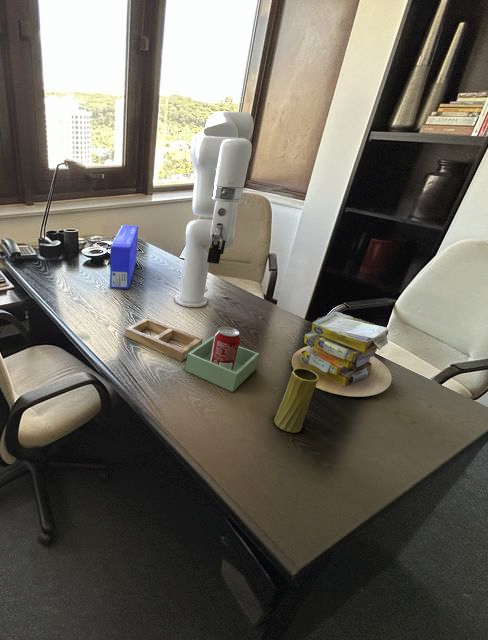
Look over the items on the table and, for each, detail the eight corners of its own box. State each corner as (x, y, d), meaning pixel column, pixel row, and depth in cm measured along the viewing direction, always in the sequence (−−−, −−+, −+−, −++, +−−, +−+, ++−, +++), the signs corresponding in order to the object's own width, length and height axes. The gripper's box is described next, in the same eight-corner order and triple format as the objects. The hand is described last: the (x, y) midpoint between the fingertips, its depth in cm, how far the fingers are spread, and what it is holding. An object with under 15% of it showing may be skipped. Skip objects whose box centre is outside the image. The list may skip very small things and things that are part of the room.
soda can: (233, 376, 103) (242, 338, 97) (208, 372, 104) (216, 335, 98) (231, 363, 109) (240, 327, 103) (208, 360, 110) (215, 324, 104)
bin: (209, 351, 115) (212, 335, 113) (254, 370, 107) (259, 353, 105) (184, 370, 106) (187, 353, 103) (232, 392, 98) (237, 374, 95)
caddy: (146, 325, 130) (146, 317, 128) (201, 347, 118) (202, 339, 116) (124, 336, 122) (125, 328, 120) (181, 361, 110) (182, 352, 108)
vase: (269, 415, 90) (285, 366, 83) (293, 415, 90) (311, 366, 83) (281, 433, 85) (299, 382, 77) (306, 432, 85) (327, 382, 78)
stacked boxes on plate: (336, 406, 94) (362, 349, 86) (273, 356, 115) (288, 306, 106) (407, 391, 101) (437, 338, 93) (336, 347, 122) (355, 299, 113)
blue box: (120, 261, 191) (122, 224, 182) (136, 263, 191) (139, 226, 181) (108, 288, 158) (110, 245, 149) (128, 290, 157) (131, 246, 148)
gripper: (239, 199, 89) (225, 269, 98) (244, 190, 103) (231, 252, 112) (207, 196, 91) (196, 264, 100) (217, 188, 105) (206, 248, 114)
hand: (215, 258), depth 106 cm, fingers open, 9 cm apart
